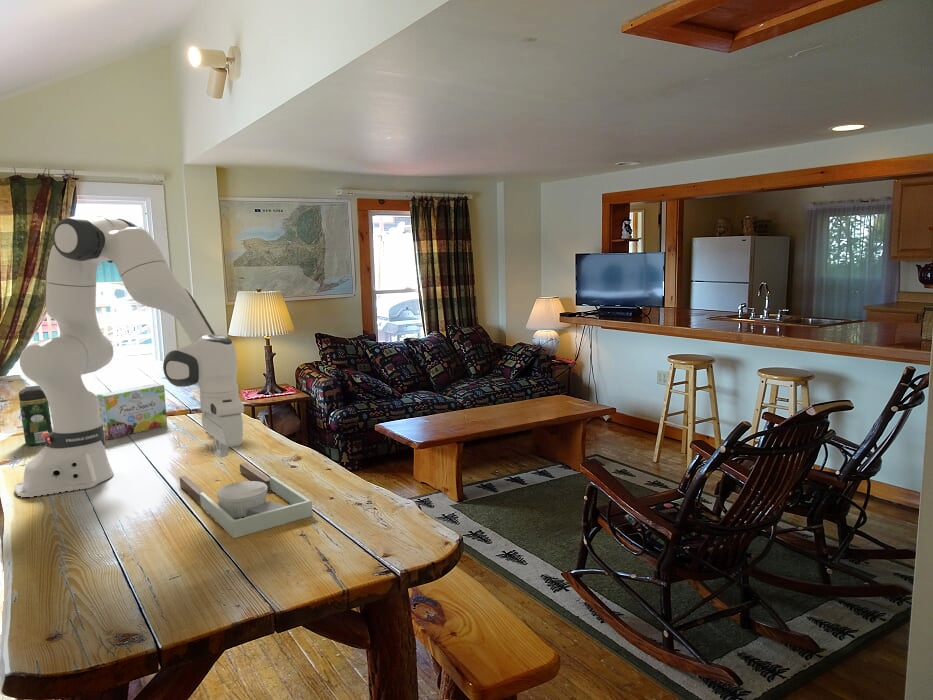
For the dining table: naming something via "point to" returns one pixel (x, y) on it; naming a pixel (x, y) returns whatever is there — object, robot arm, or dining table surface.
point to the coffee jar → (34, 414)
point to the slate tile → (264, 508)
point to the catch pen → (265, 520)
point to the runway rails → (244, 469)
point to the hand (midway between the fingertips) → (222, 455)
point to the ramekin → (241, 497)
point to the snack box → (132, 410)
